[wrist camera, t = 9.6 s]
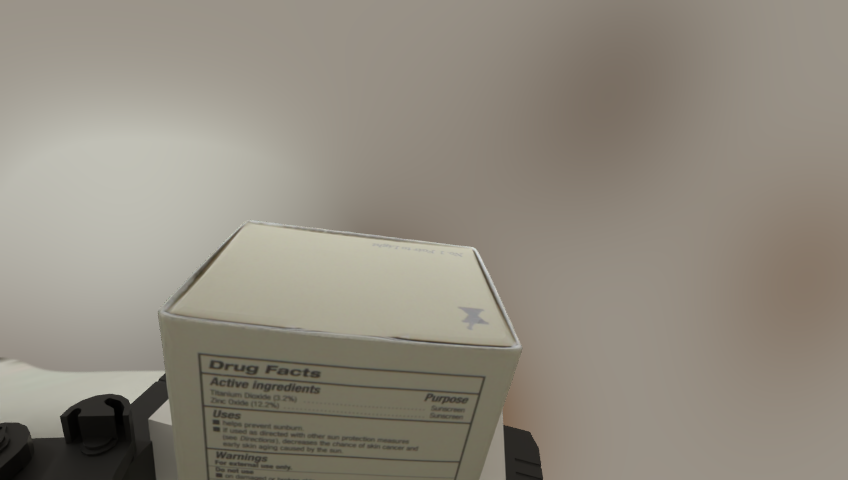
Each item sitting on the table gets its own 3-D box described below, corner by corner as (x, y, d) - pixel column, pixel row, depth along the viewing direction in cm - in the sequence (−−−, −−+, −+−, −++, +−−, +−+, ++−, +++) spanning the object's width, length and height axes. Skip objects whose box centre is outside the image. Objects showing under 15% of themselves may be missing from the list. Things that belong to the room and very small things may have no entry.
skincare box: (410, 528, 16) (485, 245, 11) (416, 692, 11) (539, 351, 7) (241, 521, 15) (246, 211, 10) (183, 694, 11) (147, 307, 6)
